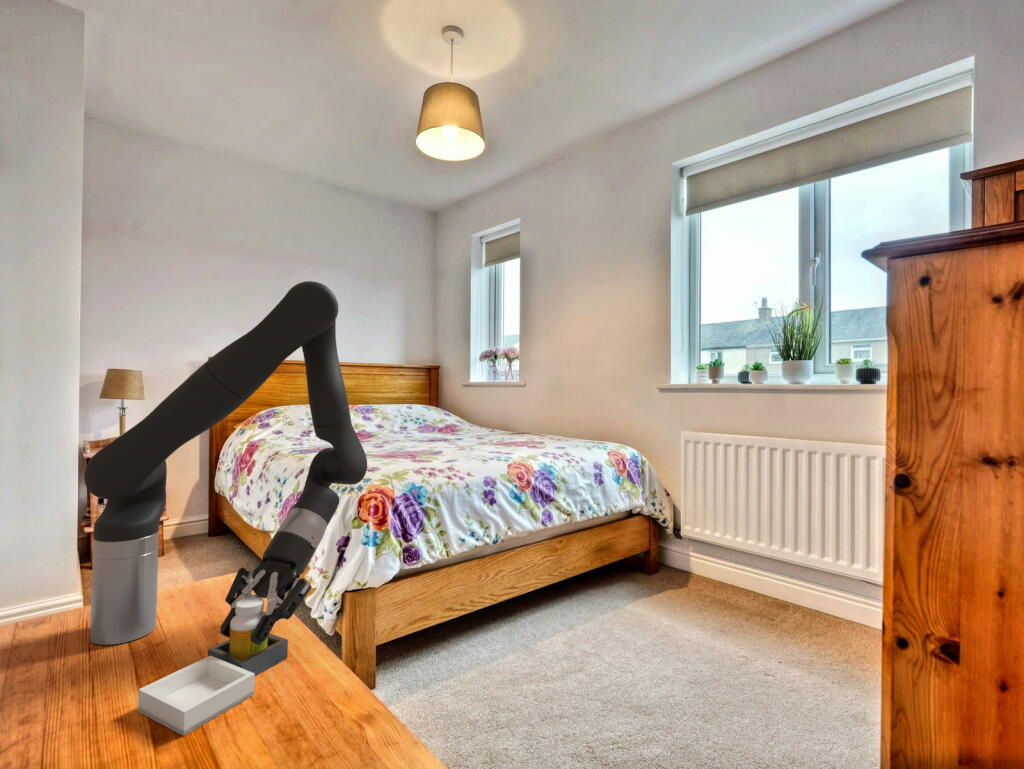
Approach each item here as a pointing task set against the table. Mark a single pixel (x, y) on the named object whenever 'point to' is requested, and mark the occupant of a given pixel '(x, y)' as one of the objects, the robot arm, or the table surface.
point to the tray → (196, 694)
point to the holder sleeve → (254, 655)
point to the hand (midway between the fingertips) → (240, 638)
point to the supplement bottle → (246, 627)
